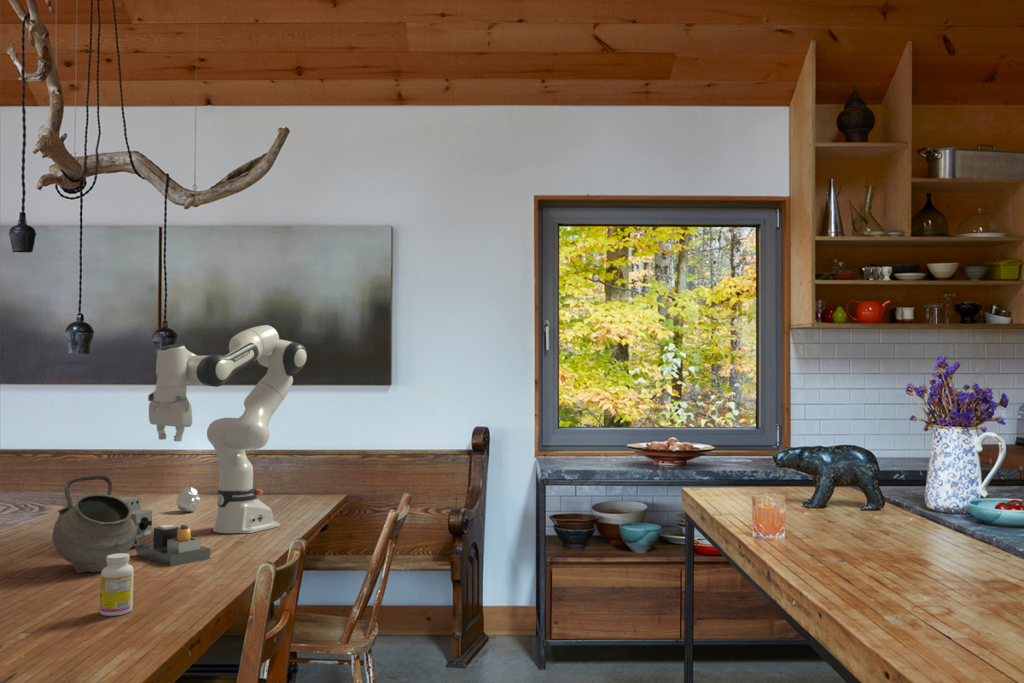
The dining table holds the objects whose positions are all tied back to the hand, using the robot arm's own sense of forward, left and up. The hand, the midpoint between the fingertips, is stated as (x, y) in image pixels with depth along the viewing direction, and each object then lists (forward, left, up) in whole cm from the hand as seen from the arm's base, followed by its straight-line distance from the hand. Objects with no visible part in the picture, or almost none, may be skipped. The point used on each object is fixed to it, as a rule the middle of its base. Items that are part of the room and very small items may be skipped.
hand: (170, 440), depth 238 cm
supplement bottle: (+39, +53, -34) cm, 74 cm away
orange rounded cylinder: (+4, +18, -31) cm, 35 cm away
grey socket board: (+4, +12, -34) cm, 36 cm away
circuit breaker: (+7, -10, -34) cm, 36 cm away
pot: (+25, +8, -34) cm, 43 cm away
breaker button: (+4, +8, -30) cm, 31 cm away
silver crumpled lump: (-37, -54, -34) cm, 74 cm away
